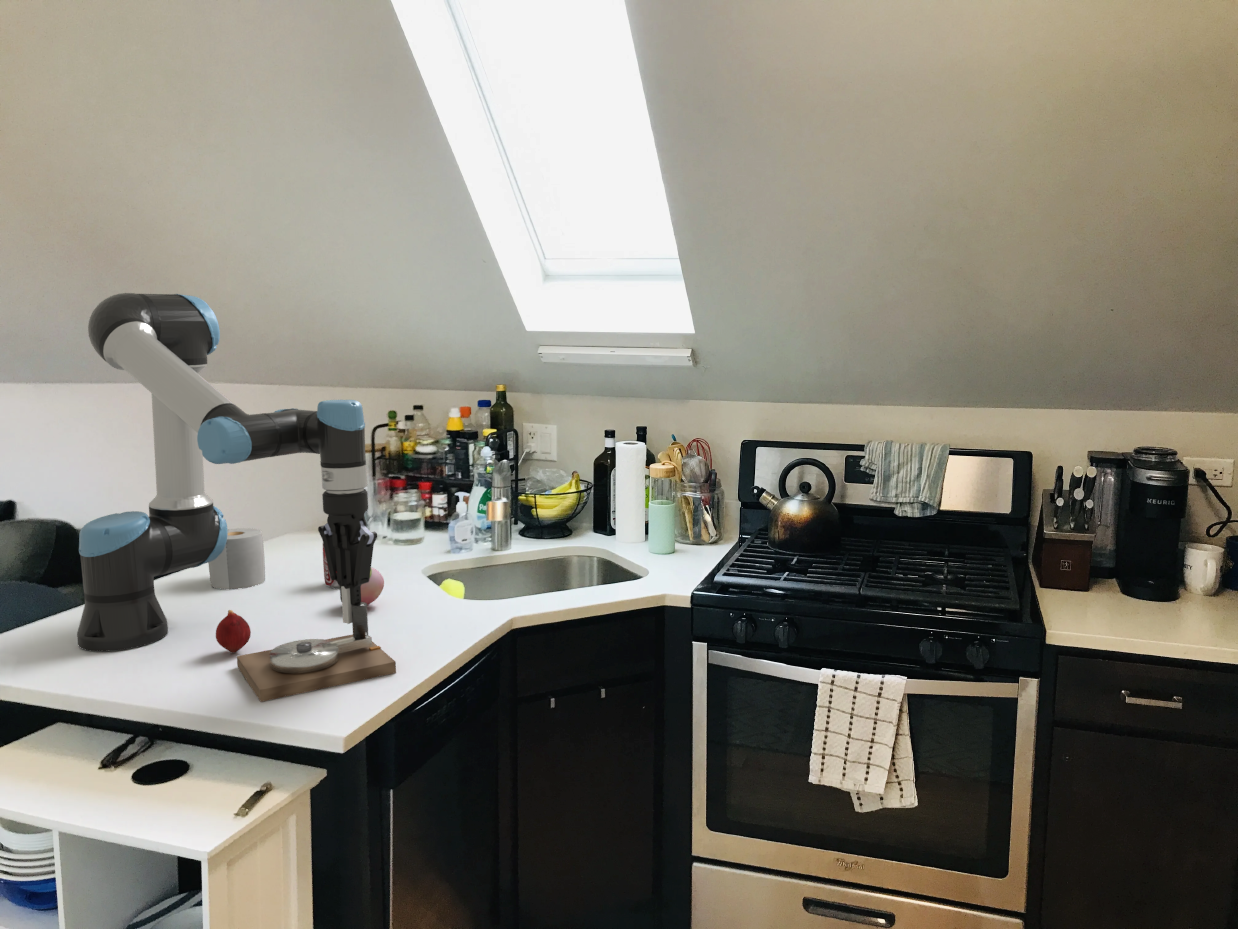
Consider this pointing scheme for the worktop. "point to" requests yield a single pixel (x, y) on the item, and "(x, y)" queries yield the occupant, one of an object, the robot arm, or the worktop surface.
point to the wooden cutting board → (343, 671)
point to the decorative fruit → (372, 587)
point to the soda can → (326, 573)
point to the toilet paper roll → (239, 560)
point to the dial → (321, 647)
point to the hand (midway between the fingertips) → (352, 621)
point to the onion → (233, 632)
